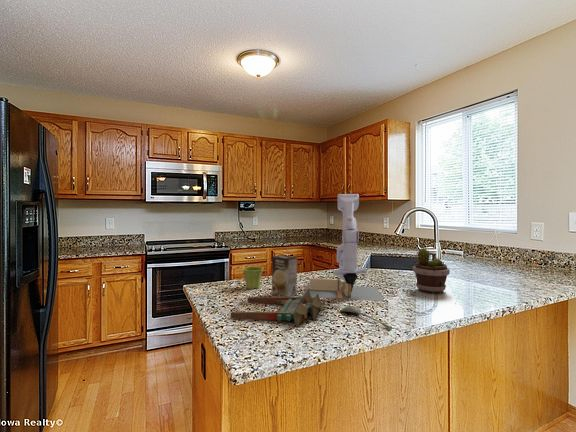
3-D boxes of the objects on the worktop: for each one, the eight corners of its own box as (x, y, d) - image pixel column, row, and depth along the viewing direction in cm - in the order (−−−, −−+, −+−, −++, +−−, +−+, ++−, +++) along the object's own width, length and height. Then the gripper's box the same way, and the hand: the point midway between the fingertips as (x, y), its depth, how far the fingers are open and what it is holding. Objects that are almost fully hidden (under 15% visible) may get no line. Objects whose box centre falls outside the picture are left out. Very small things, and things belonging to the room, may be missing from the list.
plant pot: (259, 290, 139) (259, 271, 139) (239, 289, 142) (239, 269, 141) (266, 285, 148) (266, 267, 148) (247, 284, 151) (247, 266, 150)
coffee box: (270, 294, 133) (271, 256, 133) (280, 291, 138) (281, 254, 138) (287, 298, 127) (288, 258, 127) (297, 295, 132) (297, 256, 132)
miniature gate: (251, 290, 127) (326, 289, 121) (252, 304, 127) (327, 303, 121) (225, 311, 100) (319, 311, 94) (226, 329, 101) (320, 330, 94)
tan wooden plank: (338, 289, 137) (338, 278, 137) (341, 289, 138) (341, 278, 138) (348, 297, 125) (348, 284, 125) (351, 297, 126) (351, 284, 126)
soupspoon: (351, 311, 116) (336, 314, 112) (350, 301, 116) (336, 305, 112) (398, 329, 96) (382, 334, 93) (397, 318, 96) (381, 322, 93)
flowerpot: (455, 291, 139) (456, 246, 139) (439, 297, 130) (439, 248, 129) (423, 285, 151) (423, 243, 150) (406, 290, 141) (406, 245, 140)
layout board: (306, 285, 149) (306, 273, 148) (376, 288, 144) (376, 275, 144) (302, 298, 127) (302, 284, 127) (384, 302, 122) (384, 287, 122)
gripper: (338, 261, 125) (338, 295, 125) (370, 259, 129) (370, 292, 129) (331, 258, 132) (330, 290, 132) (362, 257, 136) (361, 288, 136)
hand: (349, 291), depth 131 cm, fingers closed
